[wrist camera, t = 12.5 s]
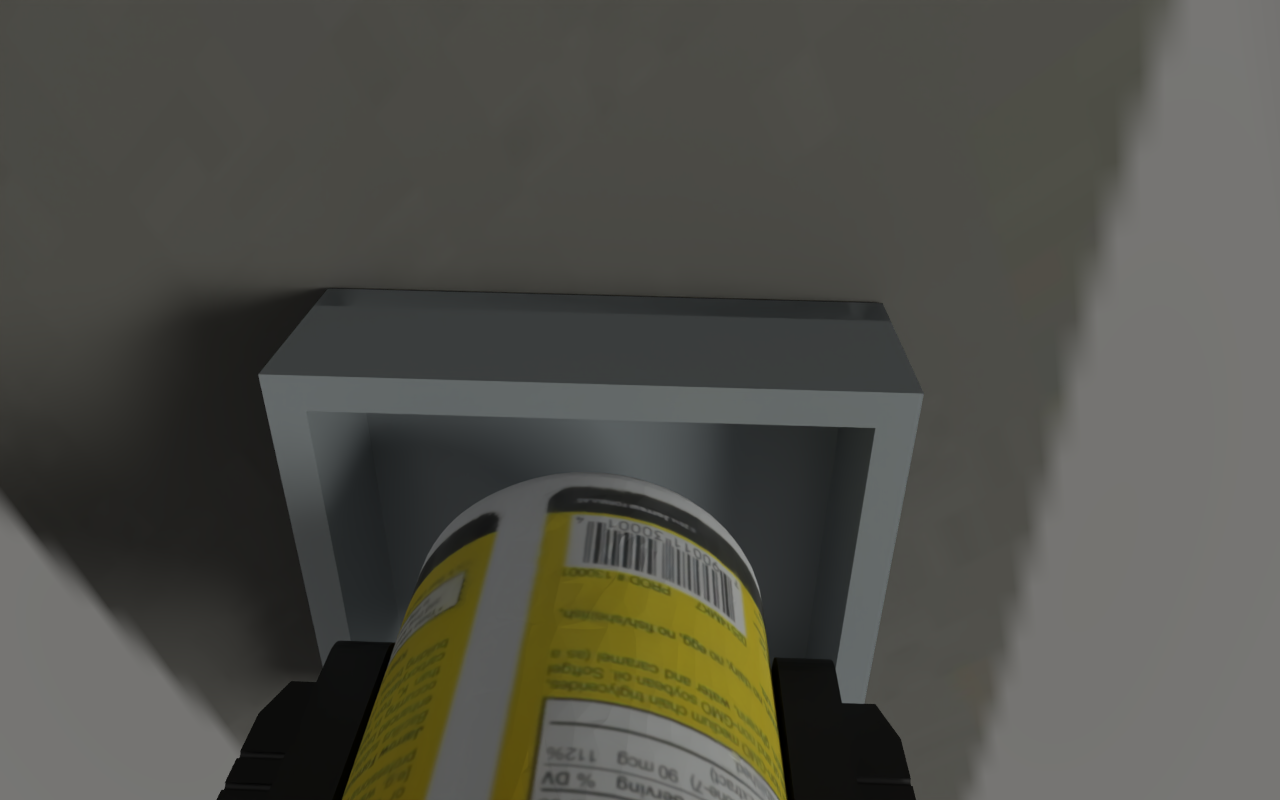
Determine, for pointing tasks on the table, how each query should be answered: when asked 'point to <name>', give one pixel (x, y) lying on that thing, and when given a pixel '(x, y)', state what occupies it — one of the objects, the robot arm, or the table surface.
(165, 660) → the table surface
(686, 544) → the supplement bottle
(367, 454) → the tray
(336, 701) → the robot arm
